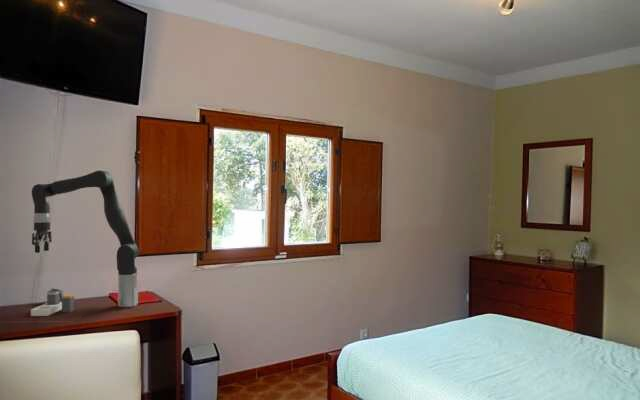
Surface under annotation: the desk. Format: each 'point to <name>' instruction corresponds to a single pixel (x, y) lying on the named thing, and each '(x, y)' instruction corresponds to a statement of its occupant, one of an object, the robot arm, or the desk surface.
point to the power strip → (46, 309)
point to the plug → (68, 303)
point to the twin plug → (53, 297)
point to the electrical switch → (59, 293)
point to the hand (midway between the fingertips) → (42, 251)
